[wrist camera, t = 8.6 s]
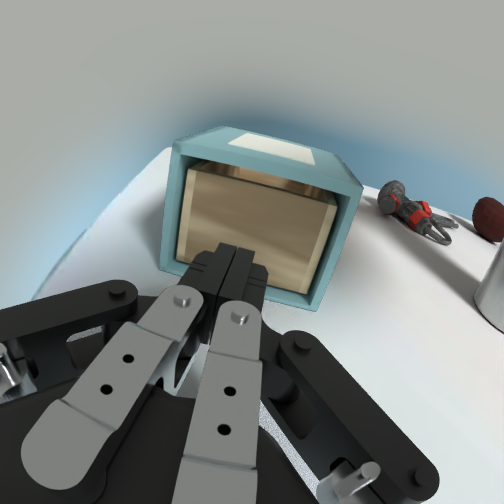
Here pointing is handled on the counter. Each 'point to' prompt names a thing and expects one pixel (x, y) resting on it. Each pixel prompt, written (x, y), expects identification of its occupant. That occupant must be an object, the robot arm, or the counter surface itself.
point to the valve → (413, 212)
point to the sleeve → (271, 162)
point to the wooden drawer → (256, 220)
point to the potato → (489, 219)
